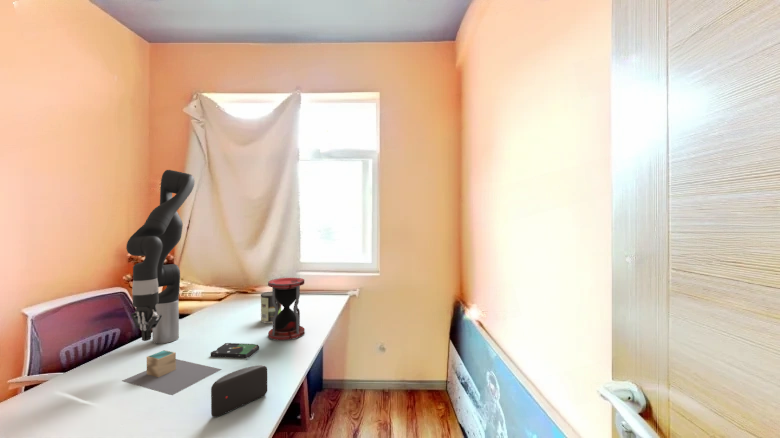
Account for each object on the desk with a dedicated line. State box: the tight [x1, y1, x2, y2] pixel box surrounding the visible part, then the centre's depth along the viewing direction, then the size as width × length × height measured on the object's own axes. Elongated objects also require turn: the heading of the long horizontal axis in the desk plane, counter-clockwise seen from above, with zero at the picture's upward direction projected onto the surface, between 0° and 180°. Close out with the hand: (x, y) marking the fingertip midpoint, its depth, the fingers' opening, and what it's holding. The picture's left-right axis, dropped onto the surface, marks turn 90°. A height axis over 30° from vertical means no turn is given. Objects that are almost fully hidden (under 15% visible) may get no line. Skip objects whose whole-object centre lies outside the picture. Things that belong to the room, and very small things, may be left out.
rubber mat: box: [121, 358, 222, 396], centre depth 113 cm, size 24×18×1 cm
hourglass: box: [267, 277, 306, 341], centre depth 153 cm, size 16×16×25 cm
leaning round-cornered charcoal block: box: [210, 364, 268, 418], centre depth 97 cm, size 16×5×9 cm, turn 140°
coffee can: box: [260, 291, 282, 324], centre depth 174 cm, size 10×10×14 cm
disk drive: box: [210, 342, 260, 361], centre depth 132 cm, size 10×3×15 cm
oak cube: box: [146, 350, 177, 377], centre depth 115 cm, size 6×6×6 cm
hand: (146, 340), depth 119 cm, fingers closed
